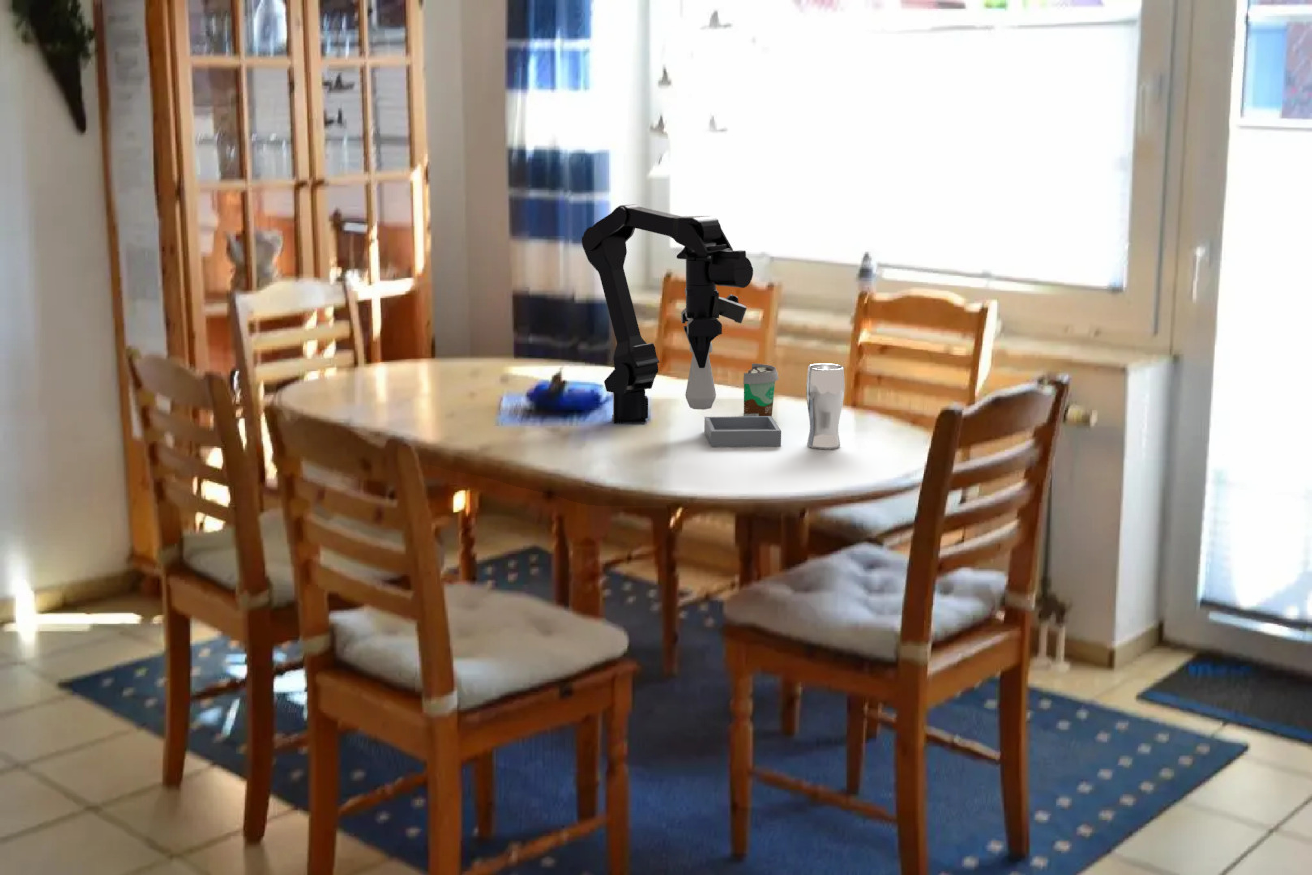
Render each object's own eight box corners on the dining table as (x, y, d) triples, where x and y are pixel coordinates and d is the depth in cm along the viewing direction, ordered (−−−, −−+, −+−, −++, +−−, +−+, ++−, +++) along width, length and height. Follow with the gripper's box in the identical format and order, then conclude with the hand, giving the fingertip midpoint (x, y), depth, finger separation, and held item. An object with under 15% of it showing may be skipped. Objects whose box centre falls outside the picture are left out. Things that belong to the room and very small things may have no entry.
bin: (711, 447, 289) (711, 431, 289) (704, 431, 302) (704, 416, 301) (780, 446, 290) (781, 430, 290) (771, 431, 303) (771, 416, 302)
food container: (773, 424, 309) (774, 374, 307) (742, 423, 310) (743, 373, 308) (781, 412, 321) (782, 364, 319) (751, 410, 322) (752, 362, 320)
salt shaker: (694, 411, 295) (694, 343, 292) (680, 406, 300) (680, 339, 297) (721, 408, 298) (721, 340, 295) (707, 403, 303) (707, 337, 300)
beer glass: (832, 452, 286) (834, 371, 283) (798, 447, 290) (800, 367, 286) (848, 444, 292) (851, 365, 289) (815, 440, 296) (817, 362, 292)
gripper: (749, 289, 285) (748, 373, 288) (738, 278, 303) (737, 357, 307) (688, 290, 284) (688, 374, 288) (680, 278, 303) (681, 358, 306)
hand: (700, 366), depth 297 cm, fingers closed on salt shaker, 4 cm apart
